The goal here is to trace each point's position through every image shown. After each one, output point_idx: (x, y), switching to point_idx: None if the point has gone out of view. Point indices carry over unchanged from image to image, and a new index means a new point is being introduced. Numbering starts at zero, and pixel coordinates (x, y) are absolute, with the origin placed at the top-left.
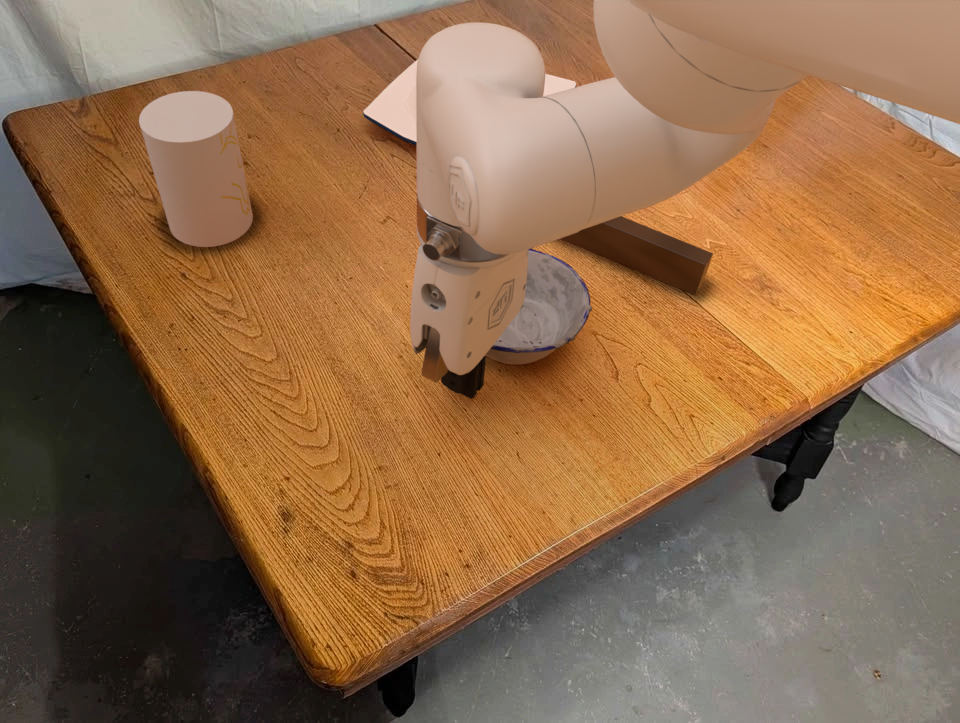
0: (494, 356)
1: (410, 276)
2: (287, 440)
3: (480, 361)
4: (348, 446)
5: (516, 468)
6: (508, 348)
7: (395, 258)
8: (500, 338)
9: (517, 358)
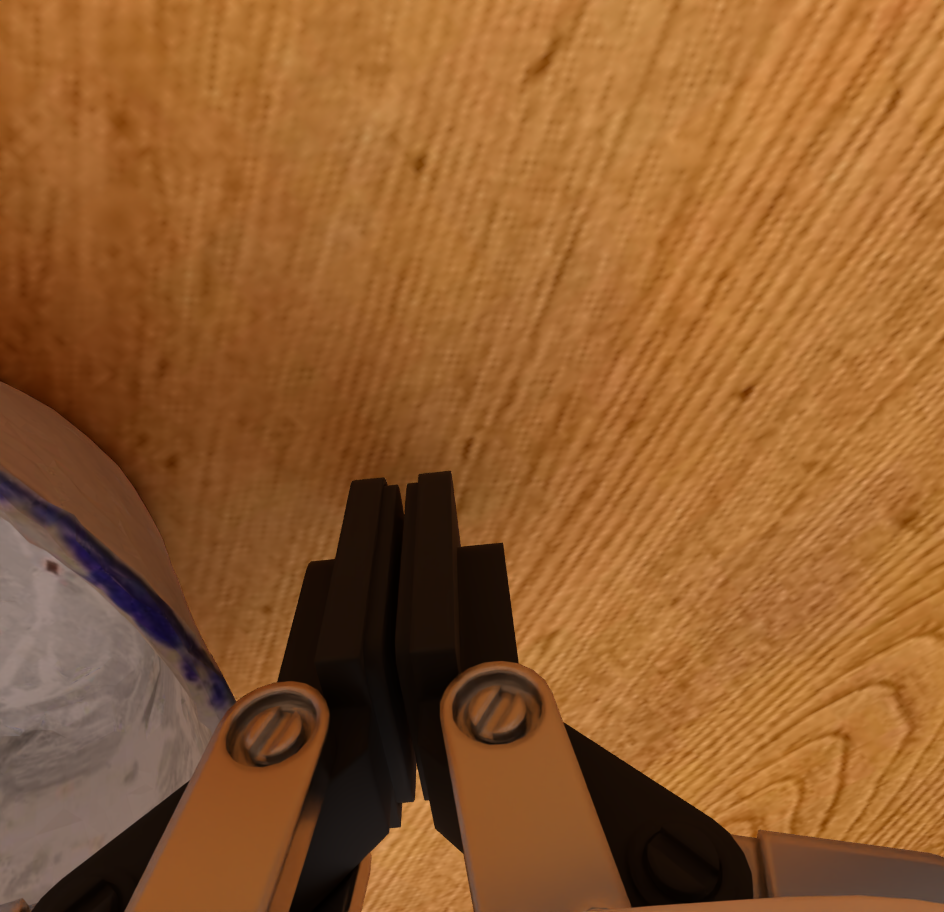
0: (159, 545)
1: None
2: (907, 756)
3: (366, 656)
4: (858, 640)
5: (633, 6)
6: (102, 582)
7: None
8: (39, 575)
9: (72, 464)
